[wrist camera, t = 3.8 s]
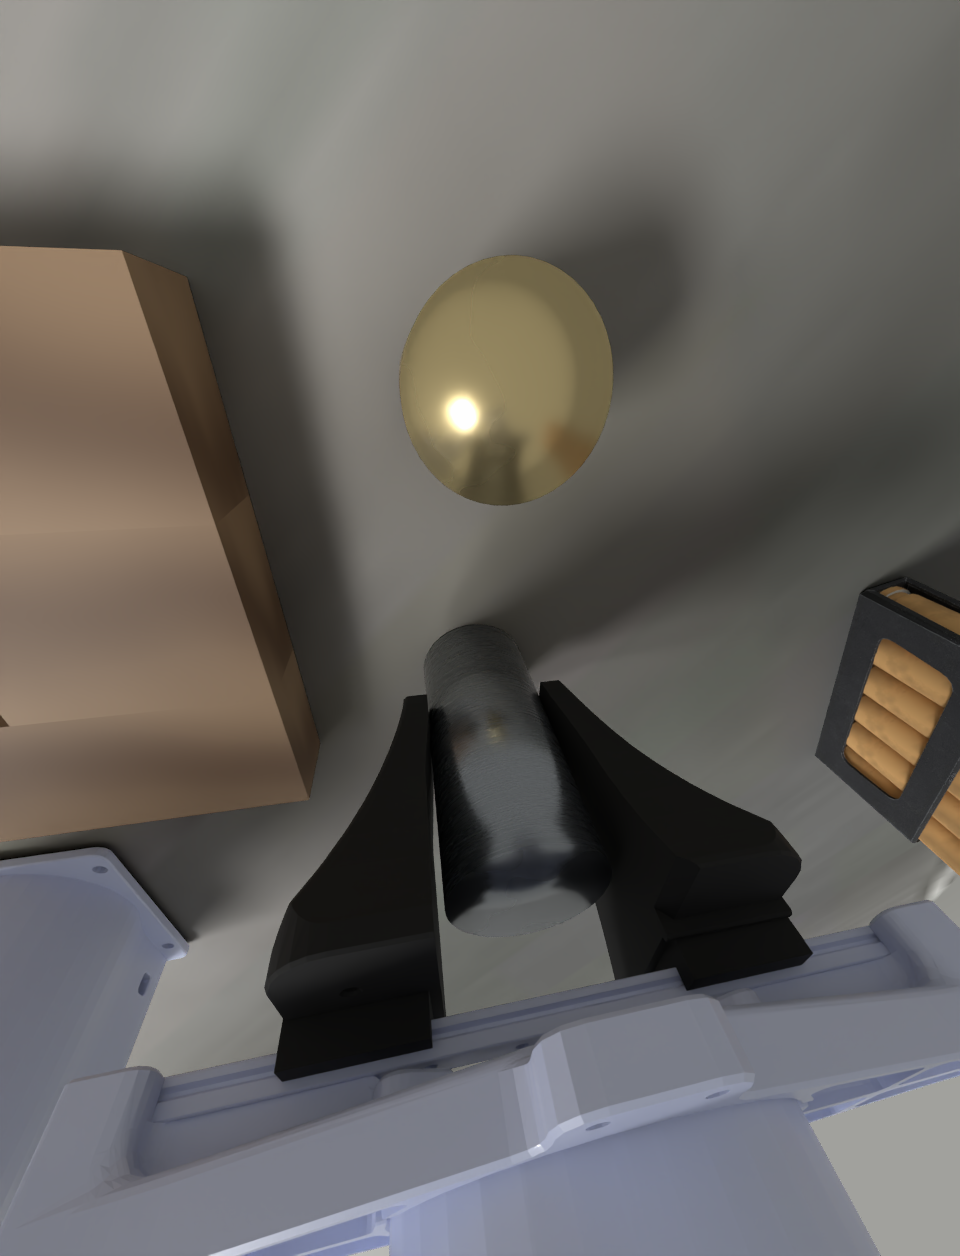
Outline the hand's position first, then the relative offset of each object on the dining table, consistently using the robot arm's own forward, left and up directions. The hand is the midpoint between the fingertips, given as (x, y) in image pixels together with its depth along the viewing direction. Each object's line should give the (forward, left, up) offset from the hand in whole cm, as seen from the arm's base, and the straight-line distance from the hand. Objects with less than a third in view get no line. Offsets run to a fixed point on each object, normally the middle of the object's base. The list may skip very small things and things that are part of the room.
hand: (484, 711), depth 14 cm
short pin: (+9, 0, -2) cm, 9 cm away
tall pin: (0, 0, -2) cm, 2 cm away
